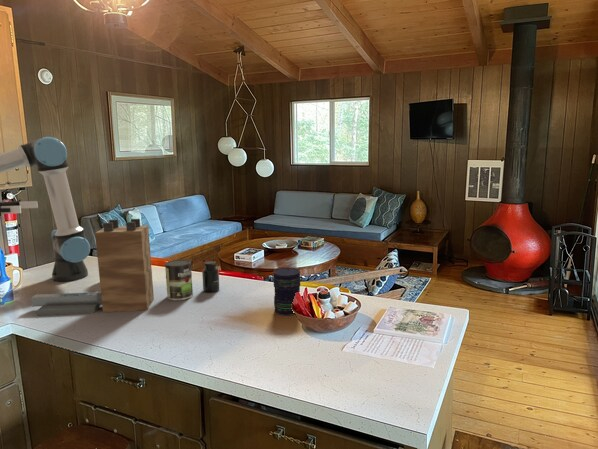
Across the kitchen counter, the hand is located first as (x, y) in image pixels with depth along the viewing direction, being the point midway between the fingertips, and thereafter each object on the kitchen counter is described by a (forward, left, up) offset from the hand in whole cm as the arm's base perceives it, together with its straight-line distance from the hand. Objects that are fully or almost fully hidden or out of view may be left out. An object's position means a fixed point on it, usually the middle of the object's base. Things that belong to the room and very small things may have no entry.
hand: (29, 206), depth 176 cm
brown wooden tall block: (+10, +37, -38) cm, 54 cm away
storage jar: (+24, +97, -38) cm, 107 cm away
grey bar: (+10, +14, -36) cm, 40 cm away
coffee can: (+2, +55, -38) cm, 67 cm away
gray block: (+10, +16, -38) cm, 42 cm away
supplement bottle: (-4, +67, -38) cm, 77 cm away
